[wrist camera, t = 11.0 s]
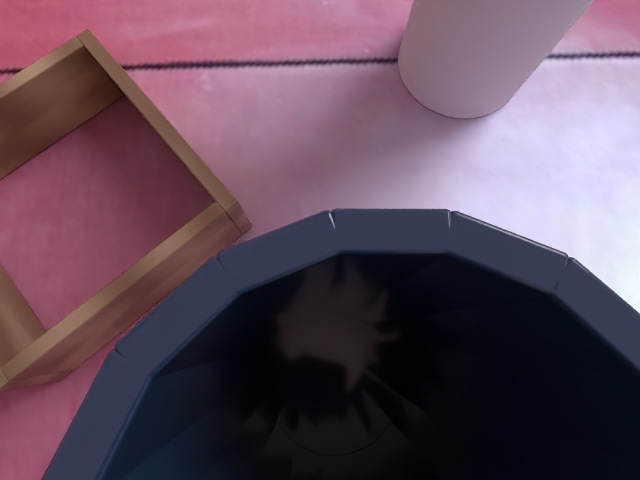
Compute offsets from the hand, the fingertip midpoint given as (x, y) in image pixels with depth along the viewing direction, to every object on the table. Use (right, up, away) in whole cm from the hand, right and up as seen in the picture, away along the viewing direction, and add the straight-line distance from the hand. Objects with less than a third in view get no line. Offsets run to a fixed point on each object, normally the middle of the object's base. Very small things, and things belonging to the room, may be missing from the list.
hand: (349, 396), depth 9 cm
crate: (-15, +6, +13) cm, 20 cm away
